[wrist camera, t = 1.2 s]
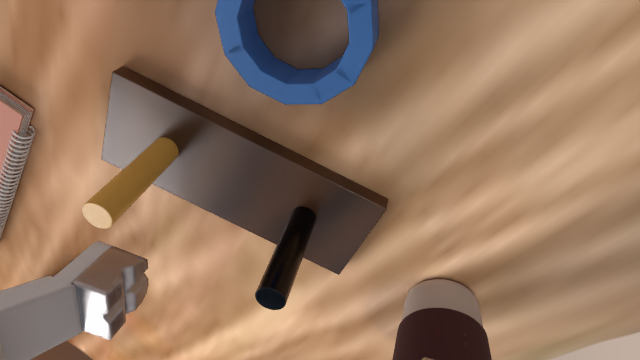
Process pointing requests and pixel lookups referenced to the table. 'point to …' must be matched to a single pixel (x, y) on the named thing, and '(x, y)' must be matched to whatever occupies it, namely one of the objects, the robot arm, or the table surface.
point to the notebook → (12, 147)
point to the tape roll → (282, 77)
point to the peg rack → (230, 181)
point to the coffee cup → (441, 324)
